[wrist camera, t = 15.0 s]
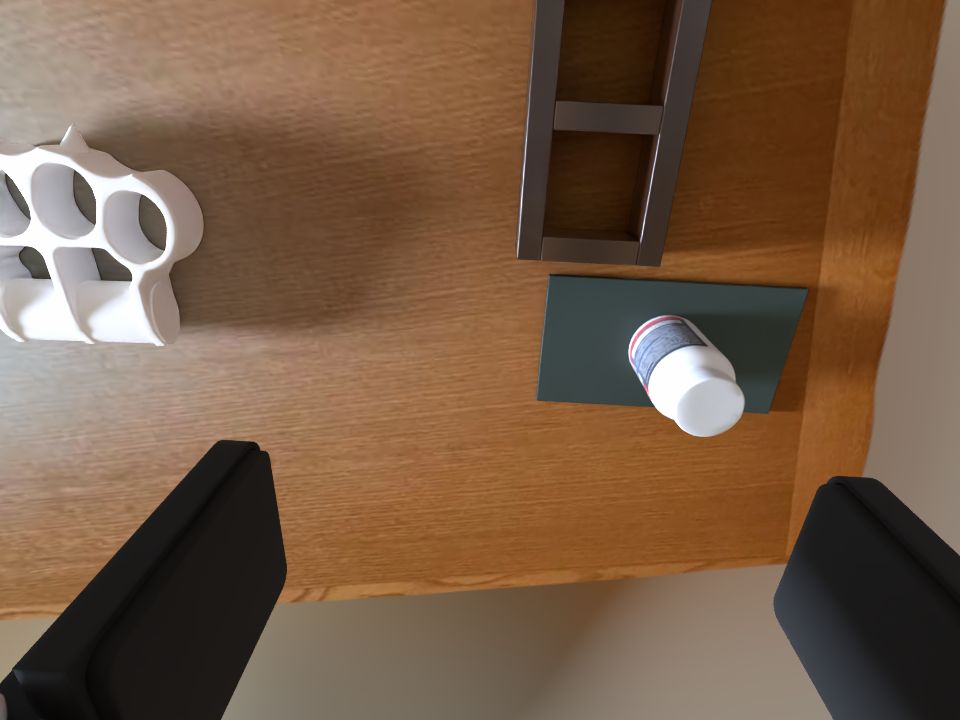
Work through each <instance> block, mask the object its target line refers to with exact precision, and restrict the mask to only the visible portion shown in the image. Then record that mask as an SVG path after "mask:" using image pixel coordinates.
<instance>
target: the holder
mask: <svg viewBox="0 0 960 720" xmlns="http://www.w3.org/2000/svg"><path fill="white" fill-rule="evenodd" d="M711 5H712V0H666V3H665V9H664V15H663V21H662V27H661V33H660V39H659V45H658V51H657V57H656V63H655V69H654V76H653V82H652V88H651V94H650V100H649V105H643V104H622V103H601V102H580V101H559V100H557V101H556V93H557V82H558V72H559V61H560V51H561V40H562V30H563V19H564V9H565V0H534V1H533V14H532V28H531V41H530V55H529V69H528V82H527V96H526V110H525V123H524V137H523V150H522V164H521V178H520V191H519V205H518V219H517V232H516V246H515V247H516V255H517V259H521V260H540V259H541V260H542V261H559V262H578V263H597V264H616V265H637V266H654V267H660V264H661V259H662V254H663V249H664V244H665V239H666V234H667V229H668V224H669V218H670V213H671V208H672V203H673V198H674V193H675V188H676V183H677V178H678V173H679V168H680V162H681V157H682V152H683V147H684V142H685V137H686V132H687V127H688V122H689V117H690V112H691V106H692V101H693V96H694V91H695V86H696V81H697V76H698V71H699V66H700V61H701V55H702V50H703V45H704V40H705V35H706V30H707V25H708V20H709V15H710V10H711ZM553 130H564V131H585V132H606V133H626V134H644V136H643V143H642V149H641V155H640V161H639V167H638V173H637V179H636V185H635V191H634V197H633V203H632V209H631V216H630V222H629V228H628V232H627V231H610V230H591V229H572V228H552V227H544V219H545V208H546V198H547V187H548V177H549V166H550V156H551V145H552V135H553Z"/></svg>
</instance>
